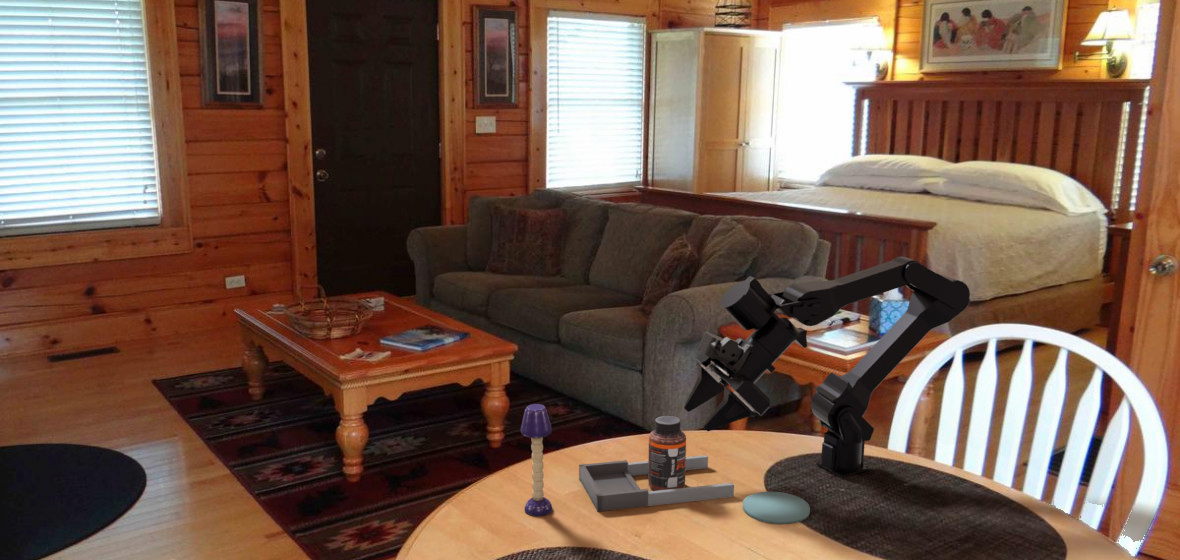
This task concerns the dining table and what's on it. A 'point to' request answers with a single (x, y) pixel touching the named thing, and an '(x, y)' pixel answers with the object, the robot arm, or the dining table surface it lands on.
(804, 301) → the robot arm
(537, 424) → the toy lamp
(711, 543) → the dining table surface
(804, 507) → the pad
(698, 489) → the trap channel
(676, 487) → the supplement bottle
